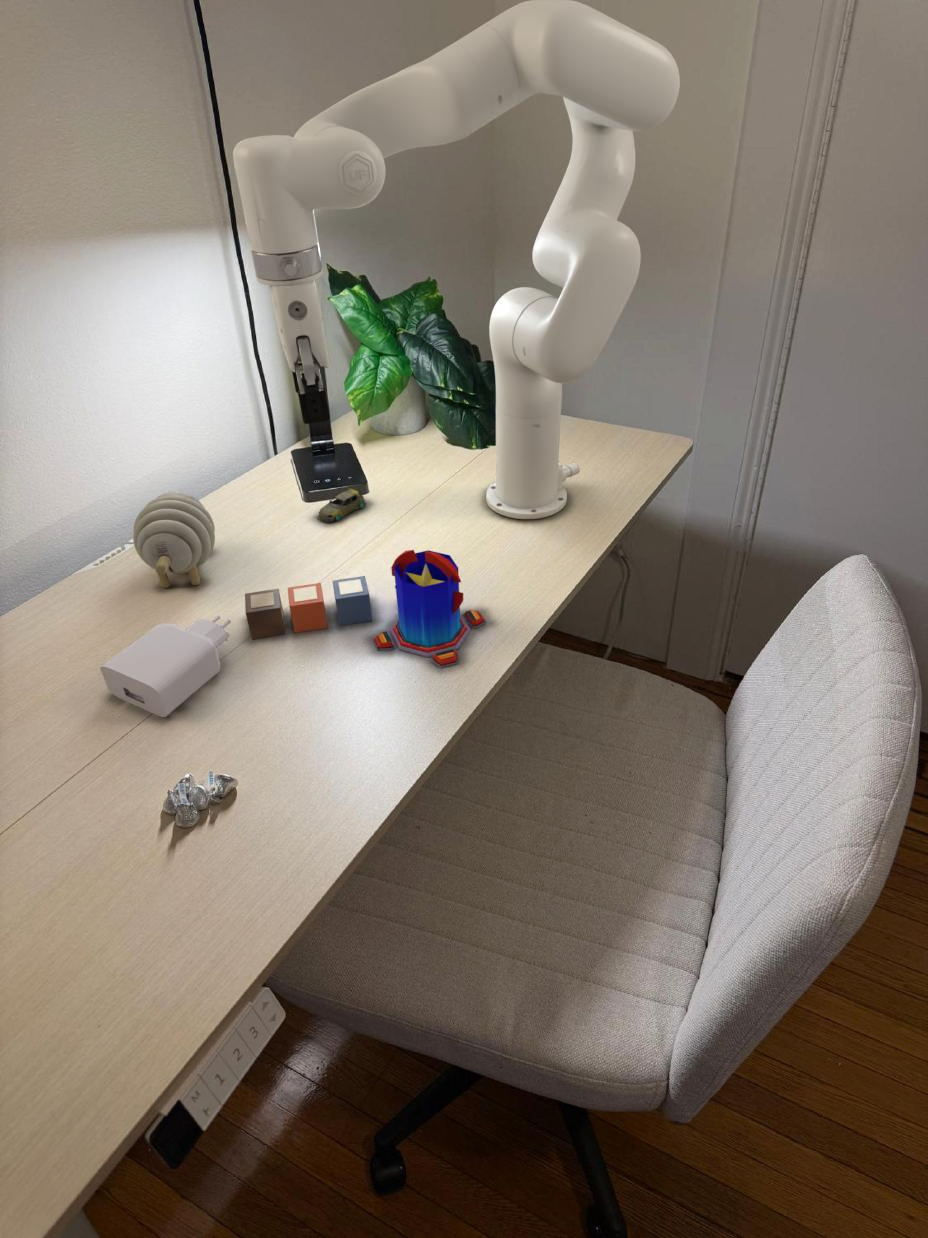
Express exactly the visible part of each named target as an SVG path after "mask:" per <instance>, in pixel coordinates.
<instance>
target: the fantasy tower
mask: <svg viewBox="0 0 928 1238" xmlns="http://www.w3.org/2000/svg"><path fill="white" fill-rule="evenodd" d="M455 562H456V561H454V559H453V558H452V556H451V555H450V554H446V553H441V552H437V551H433V550H429V549H427V550H423V551H420V552H415V550H414V549H409V550H405V551H403V552H401V553H400V554H399V555H398V556H397V557H396V558H395V559H394V561H393V563H392V565H391V568H390V569H391V576H392V577H394V583H395V585H394V588H395V594H396V606H397V615H398V620H397V621H396V622H395V624H394V625H393V626H392V628H390V630H389V633H388V631H387V630H385V631H382V632H381V633H378V635H376V636H375V637H374V638H373V639H372V642H373V644H374V646H375V649H376V651H380V652H381V651H383V652H384V651H393V650H396V647H397V649H398V651H402V652H405V653H409V654H413V655H416V656H419V657H423V658H427V659H429V658H430V660H431V663H433V664H434V665H436V666H437V667H438V668H439V669H444V668H448V667H451V666H456V665H459V664H460V655H459V653H458V652H457V651H459V650H460V648H461V646H462V645H463V644H464V642H465V641H466V639H467V638H468V637H469V635H470V633H471V632H472V630H474V629H479V628H480V627H482V626H483V625H485V624H487V623H488V621H487V620H486V619H485V617H484V616H483V614H482V613H481V612H480V611H479V610H474V609H473V610H472V609H469V610H465V612H463V616H464V617H463V616H462V614H461V606H462V604H463V602H464V592H461V591H460V583H462V579H461V577H460V575H459V566H458V565H457V563H455ZM464 618H465V619H466V621H467V622H466V621H465V619H464ZM467 623H468V624H469V625H468V624H467ZM470 627H471V629H472V630H471V629H470ZM389 634H390V635H391V637H392V639H393V641H392V639H391V637H390V635H389ZM394 643H395V646H394Z"/></svg>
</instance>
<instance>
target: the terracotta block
mask: <svg viewBox="0 0 928 1238" xmlns="http://www.w3.org/2000/svg"><path fill="white" fill-rule="evenodd" d="M287 596H288V606H289V607H288V608H289V612H290V616H291V622H292V627H293V632H294V633H295V634H297V633H304V632H310V631H317V630H322V629H328V628H329V625H328V619H327V613H326V606H325V600H324V594H323V588H322V583H321V582H316V583H309V584H303V585H296V586H289V587H287Z"/></svg>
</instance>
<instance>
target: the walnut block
mask: <svg viewBox="0 0 928 1238" xmlns="http://www.w3.org/2000/svg"><path fill="white" fill-rule="evenodd" d="M244 604H245V605H244V606H245V607H244V609H245V616H246V621H247V625H248V630H249V633H250V638H251V640H258V639H263V638H270V637H277V636H285V635H286V634H287V633H286V623H285V622H286V621H285V613H284V607H283V603H282V599H281V593H280V589H279V588H274V589H267V590H260V591H253V592H247V593H244Z"/></svg>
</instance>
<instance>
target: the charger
mask: <svg viewBox="0 0 928 1238" xmlns="http://www.w3.org/2000/svg"><path fill="white" fill-rule="evenodd" d="M220 619H221V616H220V615H216V616H214V618H212V619H211V620H208V619H206V618H201V619H196V620H195V621H193V622H192V623H191V624H190V625H188V626H187V627H186V628H185V627H182V626H179V625H176V624H174V623H171V622H170V623H158V624H157V625H155V626H154V627H152V628H151V629H150V630H148V631H147V632H146V633H144V634H143V635H141V636H140V637H139V638H138V639H136V640H135V641H133V642H132V643H131V644H130V645H128V646H127V647H125V648H124V649H123V650H122V651H120V652H119V653H117V654H116V655H115V656H113V657H112V658H110V659H109V660H108V661H107V662H105V663H104V664H102V665H101V666H100V667H99V670H100V672H101V674H102V677H103V679H104V682H105V684H106V685H105V686H106V687H107V689H108V691H109V692H110V693H111V694H112V695H113V696H115V697H116V698H118V699H120V700H122V701H124V702H126V703H129V704H131V705H133V706H135V707H137V708H140V709H142V710H144V711H147V712H148V713H151V714H153V715H155V716H158V717H161V718H167V716H169V715H170V714H171V713H172V712H173V711H174V710H176V709H177V708H178V707H180V705H182V704H183V703H184V702H185V701H186V700H187V699H189V698H190V697H191V696H192V695H194V694H195V693H196V692H197V691H198V690H199V689H200V688H202V687H203V686H204V685H205V684H207V682H209V681H210V680H211V679H213V678H214V676H216V675H217V674H218V673H219V672H220V671H221V661H220V657H219V654H218V650H217V648H218V647H219V646H220V645H221V644H222V643H223V642H225V641H226V640H227V639H228V638H230V637H231V633H229V632H228V630H226V628H225V627H226V626H228V625H229V624H231V622H232V621H231V620H230V619H226V620H225V621H223V623H221V624H218V623H216V622H217V621H219V620H220Z"/></svg>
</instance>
